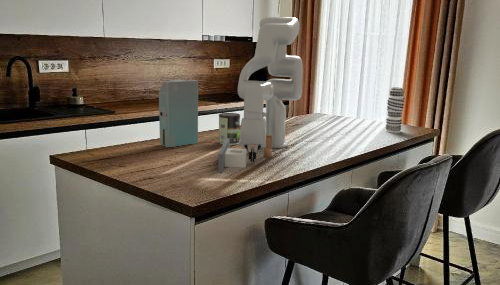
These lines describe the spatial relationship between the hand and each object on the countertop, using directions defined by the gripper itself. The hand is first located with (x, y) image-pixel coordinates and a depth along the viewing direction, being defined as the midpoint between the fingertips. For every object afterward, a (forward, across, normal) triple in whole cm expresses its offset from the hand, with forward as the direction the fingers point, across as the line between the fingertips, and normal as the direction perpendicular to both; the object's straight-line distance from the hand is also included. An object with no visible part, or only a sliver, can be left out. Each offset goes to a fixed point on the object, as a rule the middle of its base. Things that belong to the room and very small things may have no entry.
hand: (252, 161), depth 182 cm
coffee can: (+3, +12, -41) cm, 43 cm away
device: (+3, +35, -35) cm, 50 cm away
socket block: (+1, +6, 0) cm, 7 cm away
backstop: (+2, +3, 0) cm, 3 cm away
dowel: (+2, -6, -13) cm, 14 cm away
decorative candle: (+3, -80, -84) cm, 116 cm away
